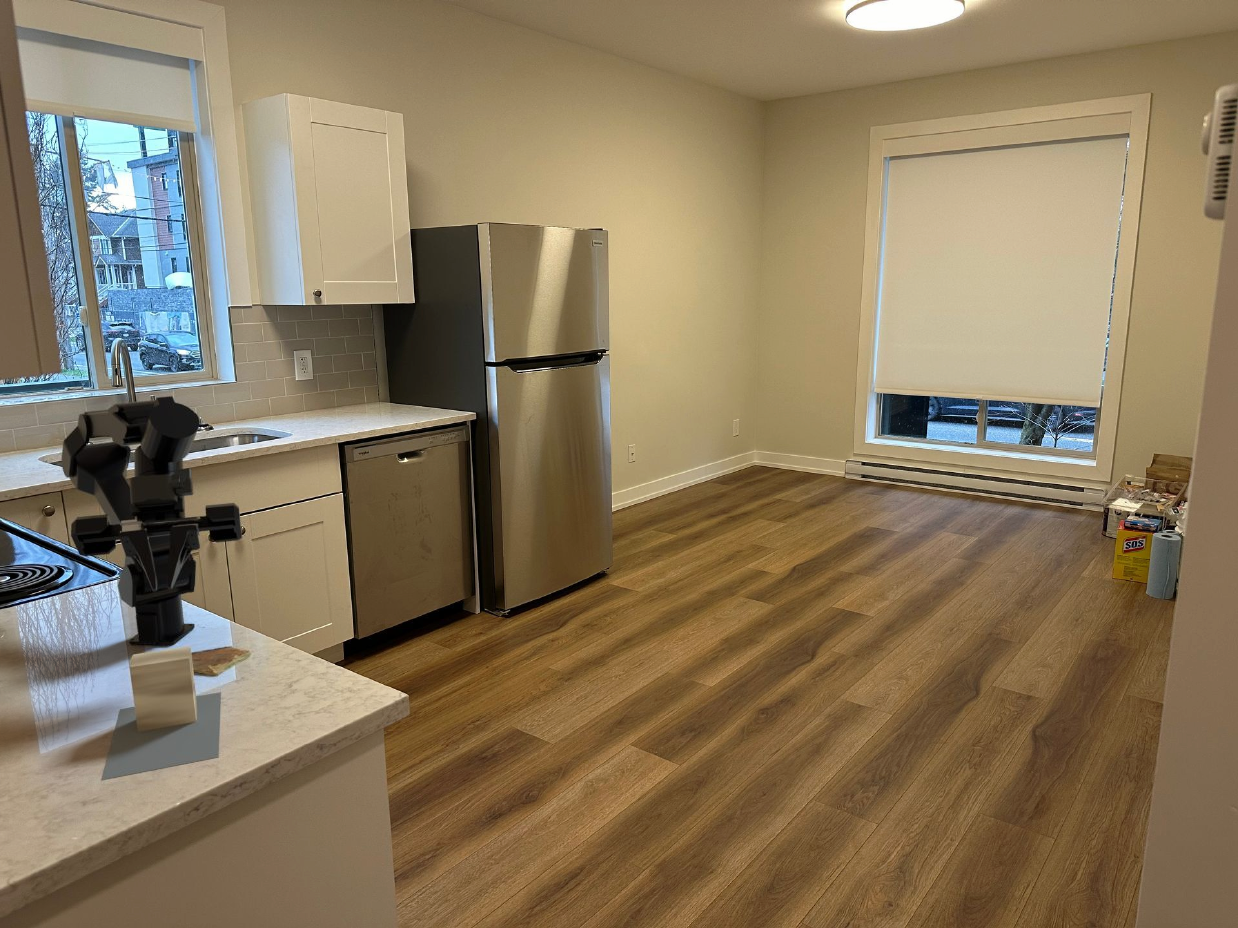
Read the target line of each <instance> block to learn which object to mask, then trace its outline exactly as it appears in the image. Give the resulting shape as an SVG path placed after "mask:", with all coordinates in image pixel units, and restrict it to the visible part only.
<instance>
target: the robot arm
mask: <svg viewBox="0 0 1238 928" xmlns="http://www.w3.org/2000/svg"><path fill="white" fill-rule="evenodd" d="M199 428H200V417H199V415H198V413H196V412H195V411H193V409H192V408H190V407H189V406H186V405H184V404H181V403H179V402H175V398H174V397H173V396H172V395H169V396H168V395H167V396H159V397H156V398H155V399H154V400H153V399H152V400H143V401H142V400H141V401H132V402H130V401H129V402H120V403H114V404H113V405H111V406H110V407H108V408H107V409H100V410H91V411H84V413H80V414H79V415H78V420H77V426H76V427H75V428H74V429H73V430H72V431H71V432H70V433H69V434H68V435H67V437H66V438H64V440H63V443H62V450H61V468H62V472H63V474H64V476H65V478H67V479H68V478H69V480H70V481H71V483H72V484H73V486H74V487H75V488H76V490H78V491H80V492H84V493H86V494H88V495H91V496H94V497H95V499H96V500H97V502H98V504H99V505H100V508H101V509H102V511H103V512H104V514H97V515H94V514H93V515H88V516H87V515H86V516H77V517H76V518H75V519H74V520H73V521H72V522H71V524H70V537H71V539H72V541H73V543H74V546H75V548H76V550H77V552H78V554H79V556H83V557H93V556H94V557H95V556H100V555H101V556H102V555H104V556H105V555H110V554H111V553H112V552H113V551H114V550H116V547H117V541H120V544H121V547H122V549H123V551H124V565H123V568H122V571H121V574H120V577H119V579H118V583H117V589H118V593H119V596H120V597H119V598H120V600H122V602H124V603H126V605H128V606H129V607H131V608H135V622H136V629H137V631H136V632H137V634H135V635H134V636H133V637H130V638H129V639H128V644H129V645H165V646H166V645H168V646H169V645H170V646H171V645H174V644H175V643H177V642H178V641H179V640H181V639H182V638H183V637H185V636H186V634H188V633H189V632H191V631H192V630H194V629H195V623H185V619H184V618H185V617H184V611H183V609H184V608H183V602H182V601H183V600H182V595H185V594H188V593H194V592H195V588H196V576H197V575H196V574H197V573H196V571H197V562H196V561H197V560H195V559H194V557H193V555H192V552H193V551H198V550H199V549H201V543H200V538H199V537H200V536H201V535H200V534H201V533H200V532H209V533H208V534H209V538H210V539H211V540H212V541H214V542H215V543H226V542H236V541H240V540H241V539H242V538H243V536H242V535H243V534H242V521H241V513H240V507H239V505H237V504H236V503H235V502H228V503H218V504H208V505H205V507H204V508H205V515H201V516H200V515H199V516H189V517H186V505H185V504H186V503H185V502H186V501H185V497H188V496H193V495H194V484H193V483H194V481H193V474H192V469H191V468H184V459H185V458H186V457H187V456H189V453H190V450H191V449H192V445H193V443H194V441H195V438H196V436H197V432H198V430H199ZM97 438H111V440H112V441H108V442H100V443H92V444H91V443H90V439H97ZM89 443H90V444H89ZM135 445H136V446H137V445H139V446H137V447H136V448H135V450H134V457H133V459H134V463H133V464H134V476H133V477H130V478H129V482H128V480H127V476H128V474H127V473H128V468H129V464H130V460H131V459H130V458H131V450H132V449H131V447H130V446H135Z"/></svg>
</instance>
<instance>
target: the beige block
mask: <svg viewBox="0 0 1238 928" xmlns="http://www.w3.org/2000/svg"><path fill="white" fill-rule="evenodd" d="M191 647H192V646H189V645H188V646H181V647H177V648H169V649H163V650H155V651H148V652H141V653H136V654H135V653H134V654H132V657H131V661H130V663H129V673H130V679H131V680H130V681H131V689H132V696H133V704H134V706H133V707H135V713H136V721H137V729H138V732H140V731H146V730H152V729H157V728H163V727H168V726H174V725H180V724H185V723H191V722H196V718H197V699H196V696H197V694H196V693H197V691H196V682H195V672H193V663H192V654H191V653H192V648H191Z"/></svg>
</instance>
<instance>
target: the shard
mask: <svg viewBox="0 0 1238 928" xmlns="http://www.w3.org/2000/svg"><path fill="white" fill-rule="evenodd" d="M191 654H192V663H193V672H194V673H199V674H205V675H210V676H216V677H219V676H220V675H222V674H224V673H225V672H226V671H228V670H229V669H231V668H233V667H235V666H236V665H238V664H239V663H242V662H244V661H245V660H246V659H248V658H250V657H251V655H252V650H250V649H243V648H238V647H233V646H231V645H230V646H224V647H216V648H212V649H204V650H199V651H194V652H192V651H191Z"/></svg>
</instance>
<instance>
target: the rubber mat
mask: <svg viewBox="0 0 1238 928" xmlns="http://www.w3.org/2000/svg"><path fill="white" fill-rule="evenodd" d="M196 699H197V718H196V722H191V723H185V724H180V725H174V726H168V727H163V728H157V729H152V730H146V731H140V732H138V729H137V721H136V713H135V706H131V707H125V708H124V707H123V708H120V709H119V714H118V716H117V720H116V725H115V728H114V732H113V736H112V740H111V742H110V747H109V750H108V755H107V759H106V760H105V765H104V770H103V774H102V778H101V781H105V780H110V779H115V778H121V777H125V776H131V775H136V774H141V773H145V772H147V773H148V772H150V771H151V772H152V771H156V770H161V769H165V768H166V769H167V768H171V767H176V766H177V767H178V766H181V765H187V764H192V763H196V762H197V763H198V762H202V761H207V760H212V759H216V758H219V756H220V755H219V754H220V753H219V752H220V732H221V731H220V730H221V704H222V701H221V700H222V692H220V691H218V692H214V693H207V694H202V695H196Z"/></svg>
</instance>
